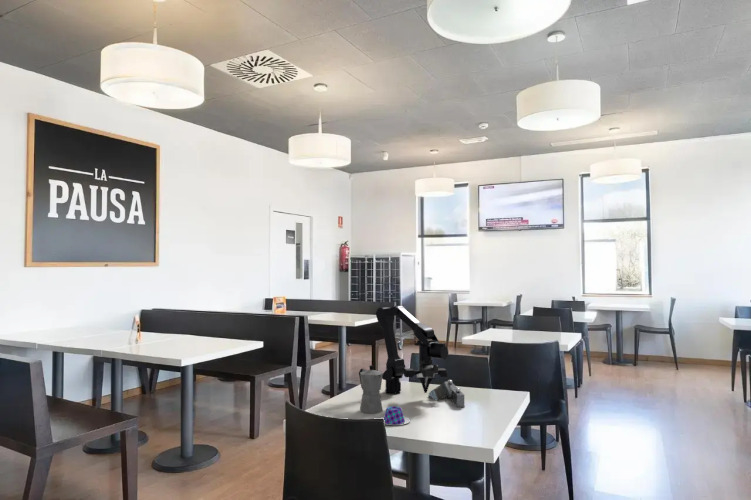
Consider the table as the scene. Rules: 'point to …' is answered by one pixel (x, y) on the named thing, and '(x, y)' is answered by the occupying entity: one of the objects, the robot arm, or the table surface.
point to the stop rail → (455, 394)
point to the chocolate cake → (440, 392)
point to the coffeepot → (371, 390)
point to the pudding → (395, 416)
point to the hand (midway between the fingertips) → (425, 392)
